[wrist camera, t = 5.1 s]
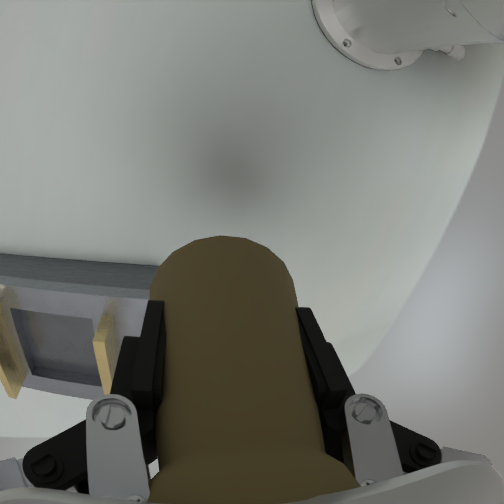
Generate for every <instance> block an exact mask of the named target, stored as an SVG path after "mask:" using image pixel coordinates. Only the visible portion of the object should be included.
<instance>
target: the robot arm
mask: <svg viewBox="0 0 504 504" xmlns="http://www.w3.org/2000/svg"><path fill="white" fill-rule="evenodd" d="M312 5H313V9H314V14H315V17H316V19H317V22H318V24H319V26H320V28H321V30H322V31H323V33H324V34H325V36H326V37H327V39H328V40H329V41H330V42H331V43H332V44H333V45H334V46H335V48H336V49H338V50H339V51H340V52H341V53H342V54H344V55H345V56H346V57H348V58H349V59H351V60H353V61H354V62H356V63H358V64H360V65H363V66H365V67H368V68H372V69H376V70H395V69H400V68H404V67H407V66H409V65H410V64H412V63H414V62H415V61H416V60H417V59H418V58H419V57H420V56H421V55H422V53H423V51H424V50H425V49H431V50H433V51H438V50H441V51H443V52H444V53H445V54H447V55H449V56H450V57H452V58H454V59H456V60H462V59H463V58H464V56H465V52H466V50H465V47H464V46H463V45H468V44H483V43H504V0H312ZM343 43H345V46H344V45H343ZM394 61H395V62H394ZM163 305H164V301H157V300H148V303H147V308H146V312H145V316H144V321H143V326H142V330H141V335H140V337H135V336H124V338H123V341H122V344H121V348H120V352H119V356H118V360H117V364H116V368H115V373H114V377H113V381H112V386H111V390H110V394H107V395H102V396H100V397H97V398H96V399H94V400H93V401H92V402H91V403H90V404H89V406H88V408H87V412H86V420H84V421H82V422H80V423H78V424H77V425H75V426H73V427H71V428H69V429H67V430H66V431H64V432H62V433H60V434H58V435H56V436H54V437H52V438H50V439H49V440H47V441H45V442H43V443H41V444H39V445H37V446H35V447H33V448H32V449H31V450H29V451H28V452H27V453H26V455H25V456H24V458H23V459H19V460H17V459H16V458H15V457H14V458H10V459H6V460H2V461H0V504H159V503H147V500H148V497H149V495H150V490H149V483H148V482H149V481H150V480H151V476H150V470H149V464H150V463H152V462H153V461H154V460H156V459H157V456H158V455H157V446H156V436H155V414H156V412H157V410H158V408H159V406H160V405H161V403H162V384H163V369H164V355H165V343H166V327H165V319H164V310H163ZM295 308H296V312H297V317H298V323H299V330H300V336H301V341H302V345H303V349H304V353H305V358H306V362H307V366H308V370H309V374H310V379H311V383H312V387H313V391H314V396H315V400H316V403H317V406H318V411H319V417H320V423H321V428H322V434H323V440H324V446H325V452H326V454H328V455H329V456H331V457H333V458H335V459H336V460H338V461H340V462H342V463H343V464H344V465H345V466H346V467H347V469H348V470H349V471H350V472H351V474H352V475H353V476H354V478H355V479H356V480H357V482H358V483H359V484H360V486H361V487H358V488H354V489H350V490H345V491H340V492H335V493H330V494H325V495H319V496H316V497H314V498H311V499H308V500H304V501H297V502H291V503H283V504H504V478H503V477H502V476H501V474H500V473H499V472H498V471H497V470H496V469H495V468H494V467H493V466H492V464H491V462H490V460H489V459H488V458H487V457H486V456H484V455H481V454H476V453H472V452H467V451H462V450H457V449H452V448H448V447H442V448H441V449H440V448H439V446H438V445H437V444H436V443H435V442H434V441H433V440H431V439H429V438H427V437H425V436H423V435H420V434H418V433H416V432H414V431H412V430H409V429H407V428H405V427H403V426H401V425H399V424H397V423H394V422H392V421H390V420H389V417H388V414H387V410H386V408H385V406H384V405H383V403H382V402H381V401H380V400H378V399H377V398H375V397H373V396H371V395H368V394H355V391H354V389H353V387H352V385H351V383H350V381H349V379H348V377H347V375H346V372H345V370H344V368H343V366H342V364H341V362H340V360H339V358H338V356H337V354H336V352H335V350H334V347H333V346H332V344H331V343H329V342H326V340H325V338H324V336H323V333H322V331H321V329H320V327H319V325H318V323H317V321H316V319H315V317H314V315H313V312H312V310H311V309H310V308H305V307H295Z"/></svg>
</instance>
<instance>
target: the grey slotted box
mask: <svg viewBox="0 0 504 504" xmlns="http://www.w3.org/2000/svg"><path fill="white" fill-rule="evenodd" d="M158 268H159V266H150V265H136V264H122V263H108V262H95V261H82V260H69V259H57V258H45V257H33V256H22V255H11V254H0V380H1V382H2V384H3V386H4V388H5V390H6V392H7V394H8V396H9V397H11V398H15V399H16V398H17V396H18V393H19V391H20V389H21V387H22V386H23V387H27V388H32V389H36V390H41V391H46V392H51V393H56V394H61V395H67V396H72V397H79V398H85V399H92V400H94V399H96V398H97V397H100V396H102V395H107V394H110V390H111V386H112V381H113V377H114V373H115V368H116V364H117V360H118V356H119V352H120V348H121V344H122V341H123V338H124V336H135V337H140V335H141V330H142V326H143V321H144V316H145V312H146V308H147V303H148V300H150V286H151V283H152V281H153V278H154V276H155V274H156V271H157V269H158Z"/></svg>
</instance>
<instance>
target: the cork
mask: <svg viewBox="0 0 504 504" xmlns="http://www.w3.org/2000/svg"><path fill="white" fill-rule="evenodd" d="M150 300H157V301H164V305H163V310H164V319H165V327H166V343H165V355H164V369H163V384H162V403H161V405H160V406H159V408H158V410H157V412H156V414H155V436H156V446H157V455H158V463H159V472H158V473H157V474H156V475H155V476H154V477H153V478H152V479H151V480H150V481H149V482H148V483H149V490H150V495H149V497H148V500H147V503H159V504H283V503H291V502H297V501H304V500H308V499H311V498H314V497H316V496H319V495H325V494H330V493H335V492H340V491H345V490H350V489H354V488H358V487H361V486H360V484H359V483H358V482H357V480H356V479H355V478H354V476H353V475H352V474H351V472H350V471H349V470H348V469H347V467H346V466H345V465H344V464H343V463H342V462H340V461H338V460H336V459H335V458H333V457H331V456H329V455H328V454H326V452H325V446H324V440H323V434H322V428H321V423H320V417H319V411H318V406H317V403H316V400H315V396H314V391H313V387H312V383H311V379H310V374H309V370H308V366H307V362H306V358H305V353H304V349H303V345H302V341H301V336H300V330H299V323H298V317H297V312H296V308H295V307H298V302H297V297H296V293H295V288H294V283H293V279H292V277H291V276H290V274H289V272H288V270H287V268H286V266H285V264H284V262H283V261H282V260H281V259H280V258H278V257H277V256H276V255H275V254H274V253H273V252H272V251H271V250H270V249H268V248H267V247H265V246H263V245H260V244H258V243H256V242H253V241H251V240H249V239H246V238H240V237H230V236H215V237H209V238H204V239H199V240H194V241H192V242H191V243H189V244H187V245H185V246H183V247H181V248H180V249H178V250H176V251H174V252H172V254H171V255H170V256H169V257H168V258H167V259H166V260H165V261H164V262H163V263H162V264H161V265H160V267H159V268H158V269H157V271H156V274H155V276H154V278H153V281H152V283H151V286H150Z"/></svg>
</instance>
